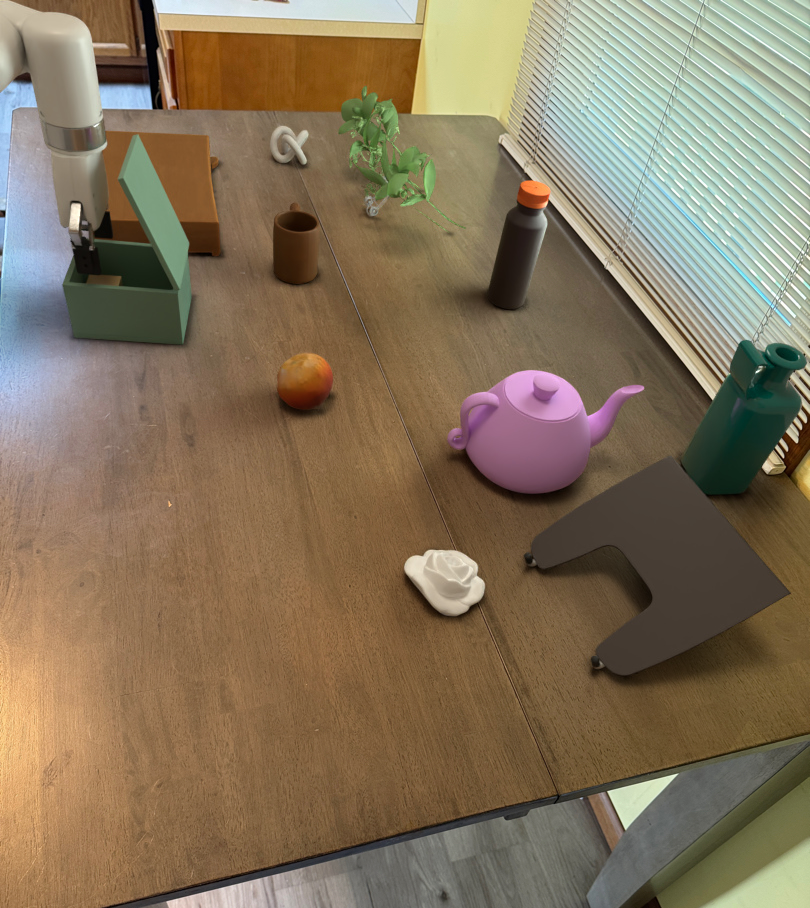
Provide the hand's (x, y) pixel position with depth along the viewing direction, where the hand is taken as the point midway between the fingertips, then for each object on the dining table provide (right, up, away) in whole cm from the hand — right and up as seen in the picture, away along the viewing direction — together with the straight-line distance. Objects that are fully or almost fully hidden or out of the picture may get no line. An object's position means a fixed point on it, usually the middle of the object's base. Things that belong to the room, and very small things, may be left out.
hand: (96, 254), depth 110 cm
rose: (+49, -47, -17) cm, 70 cm away
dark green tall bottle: (+89, -32, +3) cm, 94 cm away
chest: (+3, -7, +8) cm, 11 cm away
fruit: (+30, -21, +2) cm, 36 cm away
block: (-1, -6, +7) cm, 9 cm away
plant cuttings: (+42, +23, +40) cm, 63 cm away
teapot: (+62, -29, 0) cm, 69 cm away
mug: (+25, +6, +23) cm, 35 cm away
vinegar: (+62, +1, +26) cm, 67 cm away
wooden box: (-1, +20, +30) cm, 37 cm away
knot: (+20, +37, +48) cm, 64 cm away
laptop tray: (+72, -48, -14) cm, 87 cm away
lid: (+10, +4, -4) cm, 11 cm away
